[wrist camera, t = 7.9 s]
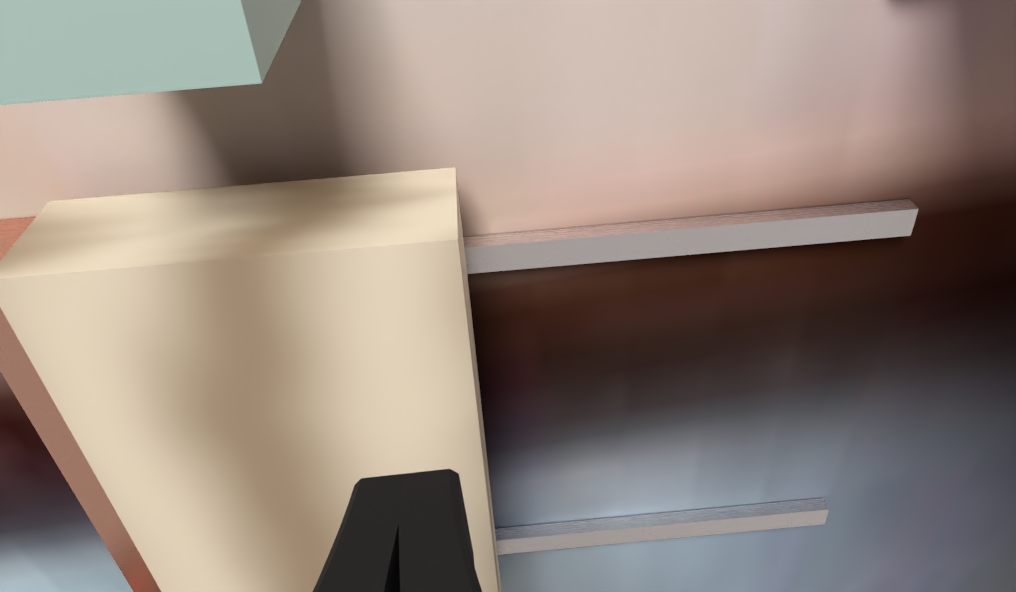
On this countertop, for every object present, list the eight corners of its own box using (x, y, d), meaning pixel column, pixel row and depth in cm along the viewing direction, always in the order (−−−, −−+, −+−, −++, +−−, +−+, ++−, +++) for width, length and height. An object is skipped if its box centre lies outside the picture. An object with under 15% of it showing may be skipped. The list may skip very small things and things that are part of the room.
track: (925, 142, 19) (969, 181, 18) (811, 539, 29) (832, 588, 27) (-19, 221, 19) (-62, 268, 17) (185, 598, 28) (170, 651, 27)
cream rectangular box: (455, 155, 18) (458, 239, 15) (503, 599, 29) (510, 698, 26) (59, 188, 18) (-16, 280, 15) (257, 622, 28) (237, 724, 26)
